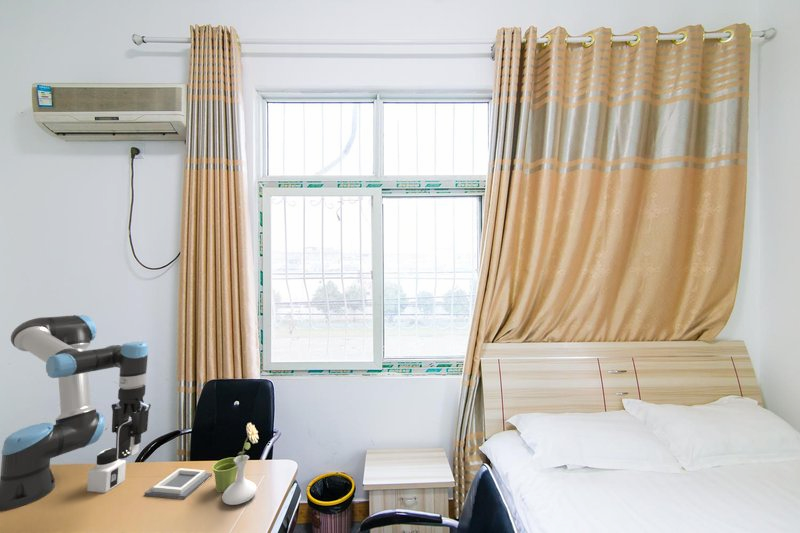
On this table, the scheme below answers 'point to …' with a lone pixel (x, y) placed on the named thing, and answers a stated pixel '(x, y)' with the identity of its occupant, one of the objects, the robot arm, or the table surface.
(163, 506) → the table surface
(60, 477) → the table surface
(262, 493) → the table surface
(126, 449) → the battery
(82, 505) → the table surface
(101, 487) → the container
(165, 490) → the tray
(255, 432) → the flower in vase
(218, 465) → the plant pot
